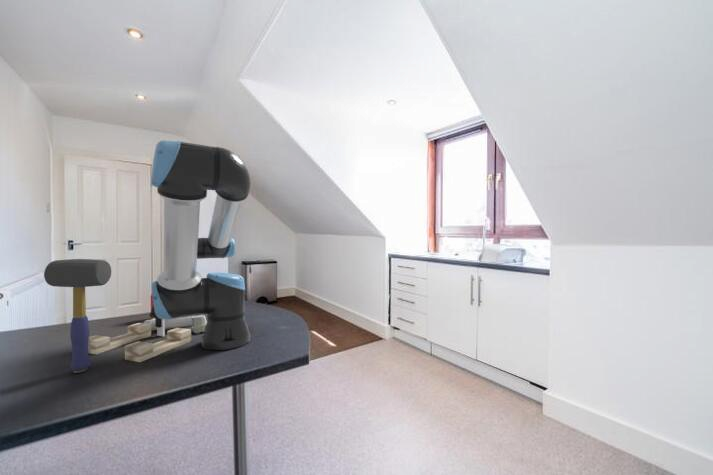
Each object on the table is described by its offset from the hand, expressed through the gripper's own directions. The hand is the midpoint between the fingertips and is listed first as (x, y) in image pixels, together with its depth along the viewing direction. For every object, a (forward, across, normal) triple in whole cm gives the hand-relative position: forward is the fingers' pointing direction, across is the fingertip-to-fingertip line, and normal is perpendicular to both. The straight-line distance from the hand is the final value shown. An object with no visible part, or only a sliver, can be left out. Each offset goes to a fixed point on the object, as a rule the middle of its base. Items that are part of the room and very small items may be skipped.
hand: (176, 330), depth 117 cm
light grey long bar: (+1, 0, 0) cm, 1 cm away
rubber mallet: (0, +34, +4) cm, 34 cm away
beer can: (0, -10, -20) cm, 22 cm away
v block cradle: (0, +16, +2) cm, 16 cm away
